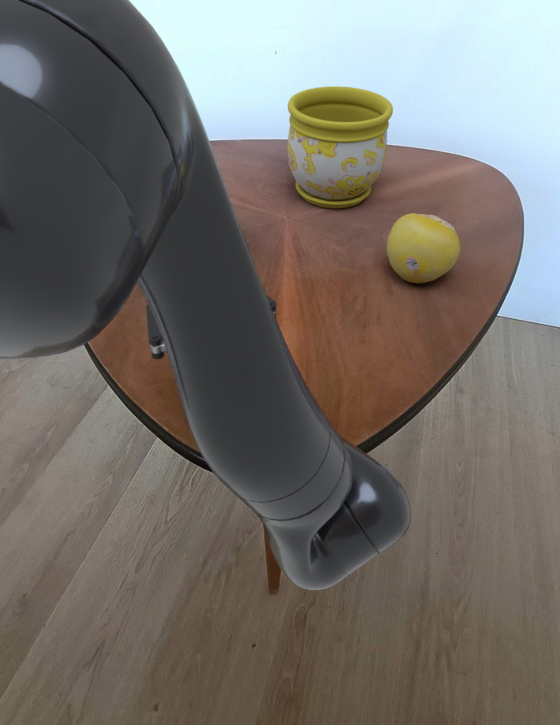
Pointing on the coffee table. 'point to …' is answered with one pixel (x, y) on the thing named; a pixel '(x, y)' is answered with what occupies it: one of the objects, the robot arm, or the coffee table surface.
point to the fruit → (422, 247)
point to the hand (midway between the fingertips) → (183, 278)
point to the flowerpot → (337, 143)
